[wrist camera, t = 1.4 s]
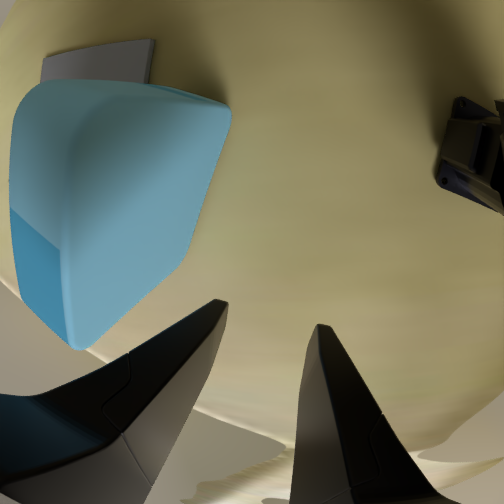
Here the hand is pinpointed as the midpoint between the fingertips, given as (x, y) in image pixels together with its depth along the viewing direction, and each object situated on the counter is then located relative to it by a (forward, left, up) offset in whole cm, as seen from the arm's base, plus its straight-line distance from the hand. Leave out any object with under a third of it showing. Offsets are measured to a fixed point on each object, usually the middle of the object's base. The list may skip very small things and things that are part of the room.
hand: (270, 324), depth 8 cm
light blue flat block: (+8, 0, -12) cm, 14 cm away
